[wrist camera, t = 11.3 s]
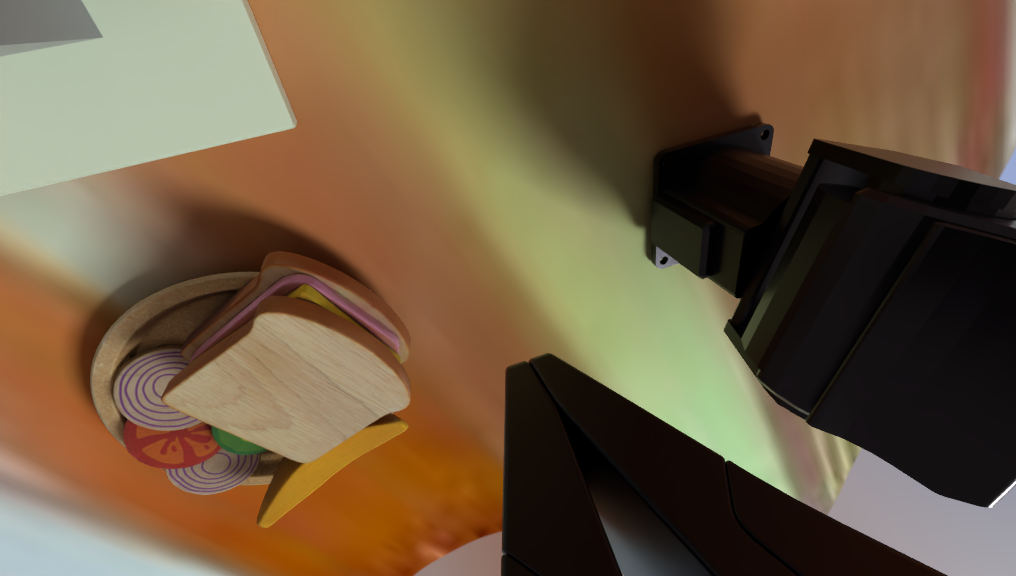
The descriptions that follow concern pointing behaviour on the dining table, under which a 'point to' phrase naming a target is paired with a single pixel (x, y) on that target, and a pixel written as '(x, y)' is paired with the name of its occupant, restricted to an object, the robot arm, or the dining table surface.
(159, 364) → the toy sandwich meal
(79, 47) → the base plate
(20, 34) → the grey rectangular block
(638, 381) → the dining table surface
